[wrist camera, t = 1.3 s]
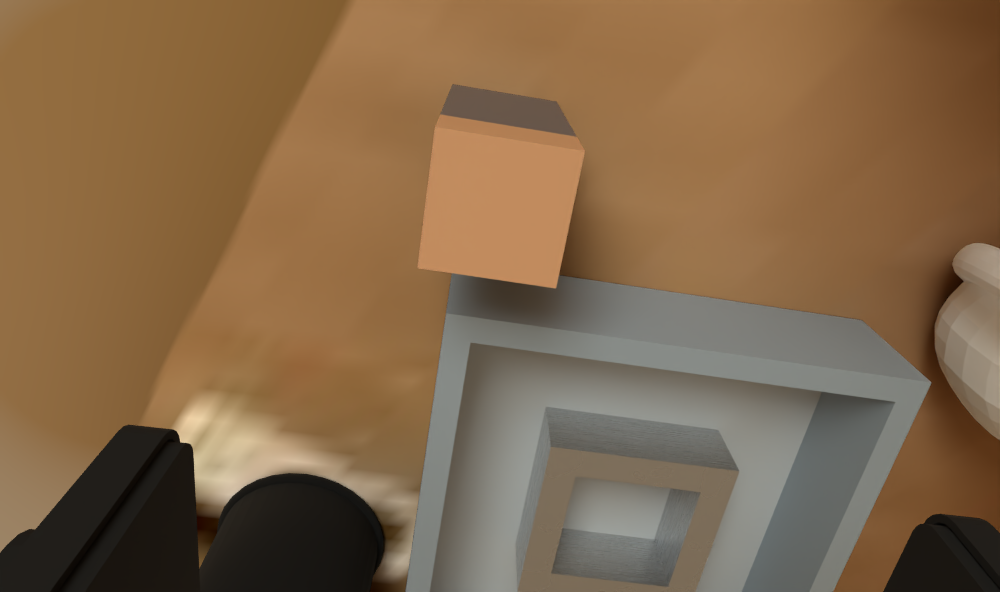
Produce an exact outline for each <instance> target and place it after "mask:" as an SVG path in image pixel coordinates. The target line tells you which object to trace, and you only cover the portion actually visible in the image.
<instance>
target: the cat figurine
mask: <svg viewBox="0 0 1000 592" xmlns="http://www.w3.org/2000/svg"><path fill="white" fill-rule="evenodd" d="M952 266H953V269H954V272H955V273H956V274H957V275H958V276H959V277H960V278H961V279H962V280H963V281H964V282H963V283H962V284H961V285H960V286H959V287H958V288H957V289H956V290H955V291H954V292H953V293H952V294H951V295H950V296H949V297H948V298H947V300H946V302H945V303H944V305H943V306H942V308H941V309H940V311H939V313H938V316H937V319H936V322H935V351H936V355H937V358H938V362H939V365H940V368H941V370H942V372H943V373H944V375H945V377H946V379H947V381H948V383H949V385H950V387H951V388H952V390H953V391H954V393H955V394H956V396H957V397H958V399H959V400H960V402H961V403H962V404H963V406H964V407H965V408H966V409H967V410H968V412H969V413H970V414H971V415H972V417H973V418H974V419H975V420H976V421H977V422H978V423H979V424H980V425H982V426H983V427H984V428H985V429H986V430H987V431H988V432H989V433H990V434H991V435H993V436H994V437H996V438H997V439H999V440H1000V249H999V248H997V247H994V246H992V245H988V244H985V243H972V244H970V245H967V246H965V247H964V248H962V249H961V250H960V251H958V253H957V254H956V256H955V257H954V259H953V263H952Z"/></svg>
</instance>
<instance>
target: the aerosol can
mask: <svg viewBox="0 0 1000 592" xmlns="http://www.w3.org/2000/svg"><path fill="white" fill-rule="evenodd" d="M383 551H384V550H383V534H382V531H381V527H380V524H379V522H378V520H377V518H376V516H375V514H374V512H373V511H372V510H371V509H370V507H369V506H368V505H367V504H366V503H365V501H363V500H362V499H361V498H360V497H359V496H357V495H356V494H355V493H354V492H353V491H351V490H349V489H347V488H346V487H344V486H342V485H340V484H339V483H336V482H333V481H331V480H328V479H325V478H323V477H318V476H313V475H308V474H291V473H288V474H280V475H272V476H269V477H265V478H262V479H259V480H256V481H254V482H253V483H251V484H249V485H247V486H245V487H243V488H242V489H241V490H240V491H239V492H237V493H236V494H235V495H234V496H233V497H232V498H231V499H230V500H229V502H228V503H227V504H226V506H225V507H224V509H223V511H222V514H221V516H220V518H219V524H218V531H217V535H216V537H215V539H214V541H213V543H212V545H211V547H210V549H209V551H208V553H207V555H206V557H205V559H204V561H203V563H202V565H201V567H200V569H199V576H200V592H370V588H371V583H372V578H373V575H374V574H375V572H376V570H377V568H378V567H379V565H380V563H381V559H382V555H383Z"/></svg>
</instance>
